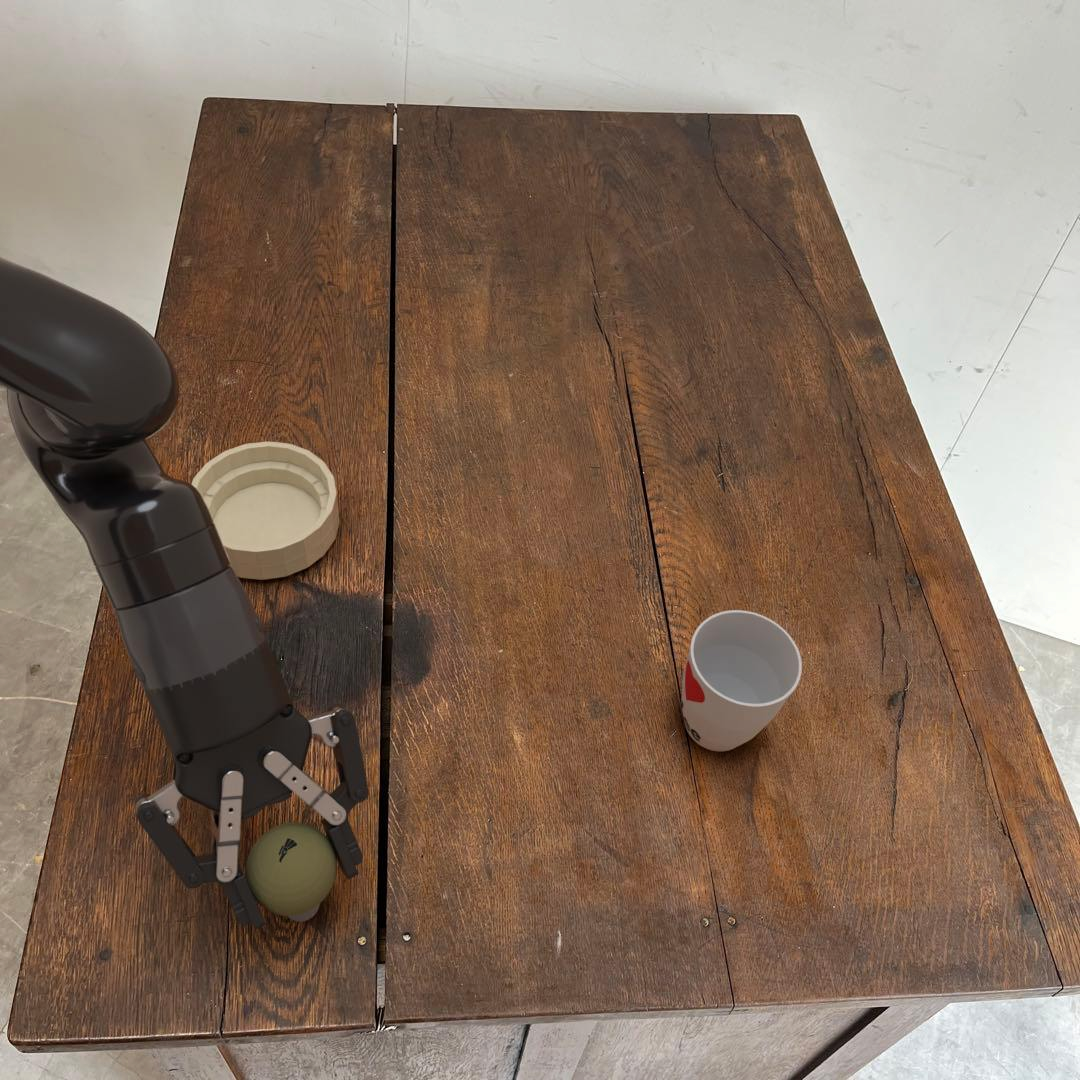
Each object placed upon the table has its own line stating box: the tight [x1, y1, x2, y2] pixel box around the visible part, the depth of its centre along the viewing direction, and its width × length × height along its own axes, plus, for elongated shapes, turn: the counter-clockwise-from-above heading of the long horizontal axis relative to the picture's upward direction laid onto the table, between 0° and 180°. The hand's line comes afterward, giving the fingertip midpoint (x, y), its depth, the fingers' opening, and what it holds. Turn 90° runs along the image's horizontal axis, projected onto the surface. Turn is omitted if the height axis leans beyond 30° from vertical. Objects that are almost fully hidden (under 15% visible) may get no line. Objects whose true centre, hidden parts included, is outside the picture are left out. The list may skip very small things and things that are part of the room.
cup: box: [680, 609, 803, 752], centre depth 78 cm, size 8×8×10 cm
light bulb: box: [245, 821, 338, 923], centre depth 67 cm, size 6×6×10 cm
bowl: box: [191, 441, 341, 581], centre depth 89 cm, size 12×12×4 cm
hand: (304, 897), depth 65 cm, fingers closed on light bulb, 5 cm apart
